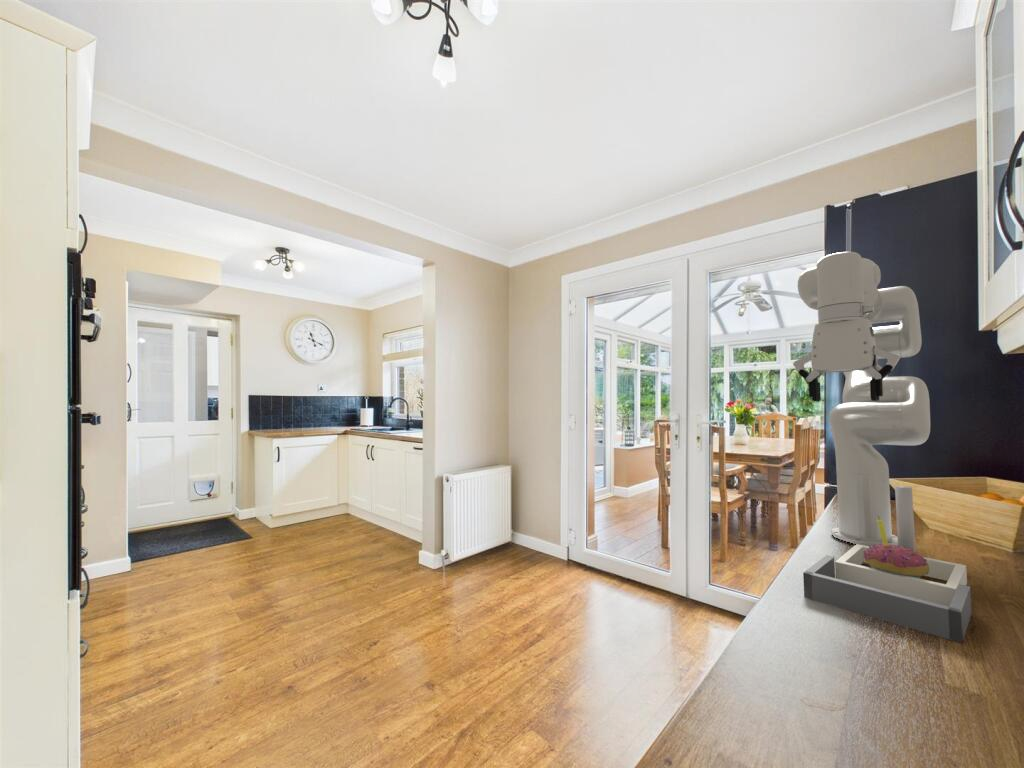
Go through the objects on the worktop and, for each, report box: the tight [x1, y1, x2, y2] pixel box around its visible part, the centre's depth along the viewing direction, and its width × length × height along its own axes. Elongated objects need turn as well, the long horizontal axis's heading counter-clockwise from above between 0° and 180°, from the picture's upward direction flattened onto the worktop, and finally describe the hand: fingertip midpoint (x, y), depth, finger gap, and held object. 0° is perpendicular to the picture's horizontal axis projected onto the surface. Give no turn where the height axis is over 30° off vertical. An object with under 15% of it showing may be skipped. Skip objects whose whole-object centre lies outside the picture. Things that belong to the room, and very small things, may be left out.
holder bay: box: [802, 554, 973, 644], centre depth 70 cm, size 12×18×4 cm
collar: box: [835, 485, 968, 607], centre depth 78 cm, size 15×15×16 cm
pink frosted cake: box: [863, 515, 929, 579], centre depth 76 cm, size 9×8×12 cm
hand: (844, 400), depth 88 cm, fingers open, 9 cm apart
